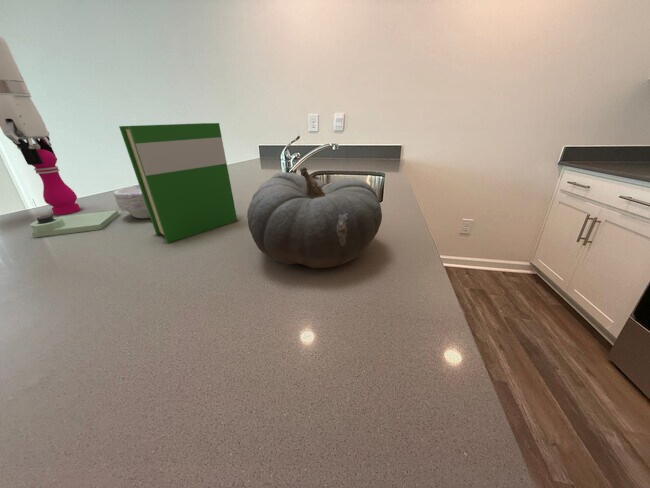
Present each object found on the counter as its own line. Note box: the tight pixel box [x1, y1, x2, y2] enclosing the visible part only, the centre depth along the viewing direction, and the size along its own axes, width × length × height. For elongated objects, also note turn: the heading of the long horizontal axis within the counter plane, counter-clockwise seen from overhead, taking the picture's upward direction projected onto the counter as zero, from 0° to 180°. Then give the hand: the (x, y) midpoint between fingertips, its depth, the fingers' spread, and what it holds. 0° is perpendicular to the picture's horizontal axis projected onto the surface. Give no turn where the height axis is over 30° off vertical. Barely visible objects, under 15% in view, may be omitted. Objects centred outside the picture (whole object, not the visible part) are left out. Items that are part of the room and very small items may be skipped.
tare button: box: [36, 214, 55, 224], centre depth 64 cm, size 3×3×2 cm
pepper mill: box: [31, 142, 81, 216], centre depth 76 cm, size 7×7×20 cm
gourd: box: [246, 166, 383, 269], centre depth 50 cm, size 25×25×17 cm
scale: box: [30, 209, 120, 238], centre depth 69 cm, size 14×12×3 cm
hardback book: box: [118, 122, 238, 244], centre depth 61 cm, size 18×7×24 cm, turn 139°
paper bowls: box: [113, 184, 151, 219], centre depth 75 cm, size 15×15×8 cm
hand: (43, 162), depth 74 cm, fingers closed on pepper mill, 6 cm apart
